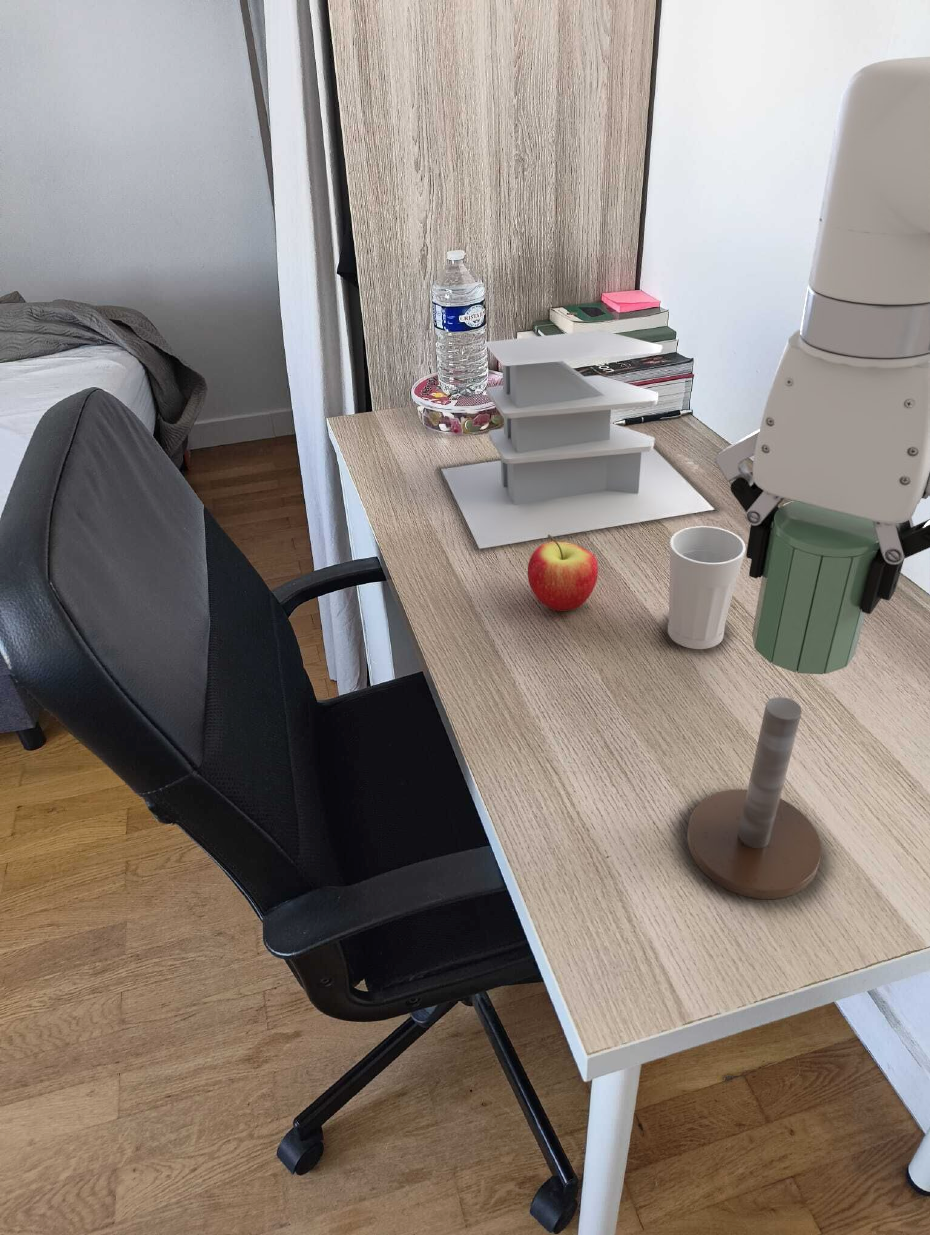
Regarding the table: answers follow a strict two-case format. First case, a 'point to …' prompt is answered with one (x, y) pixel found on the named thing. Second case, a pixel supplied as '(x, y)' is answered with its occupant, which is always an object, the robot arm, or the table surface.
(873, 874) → the table surface
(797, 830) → the towel stand
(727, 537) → the cup
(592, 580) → the apple
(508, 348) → the file organizer
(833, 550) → the green cup
